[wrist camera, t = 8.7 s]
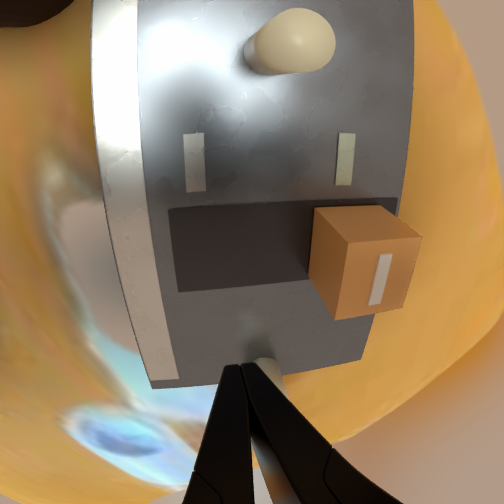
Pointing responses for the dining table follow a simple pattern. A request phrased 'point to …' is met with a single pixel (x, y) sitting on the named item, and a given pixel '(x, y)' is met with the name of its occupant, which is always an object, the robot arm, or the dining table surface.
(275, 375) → the cylinder
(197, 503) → the robot arm
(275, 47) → the peg
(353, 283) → the block
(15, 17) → the coffee mug
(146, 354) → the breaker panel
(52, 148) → the dining table surface
